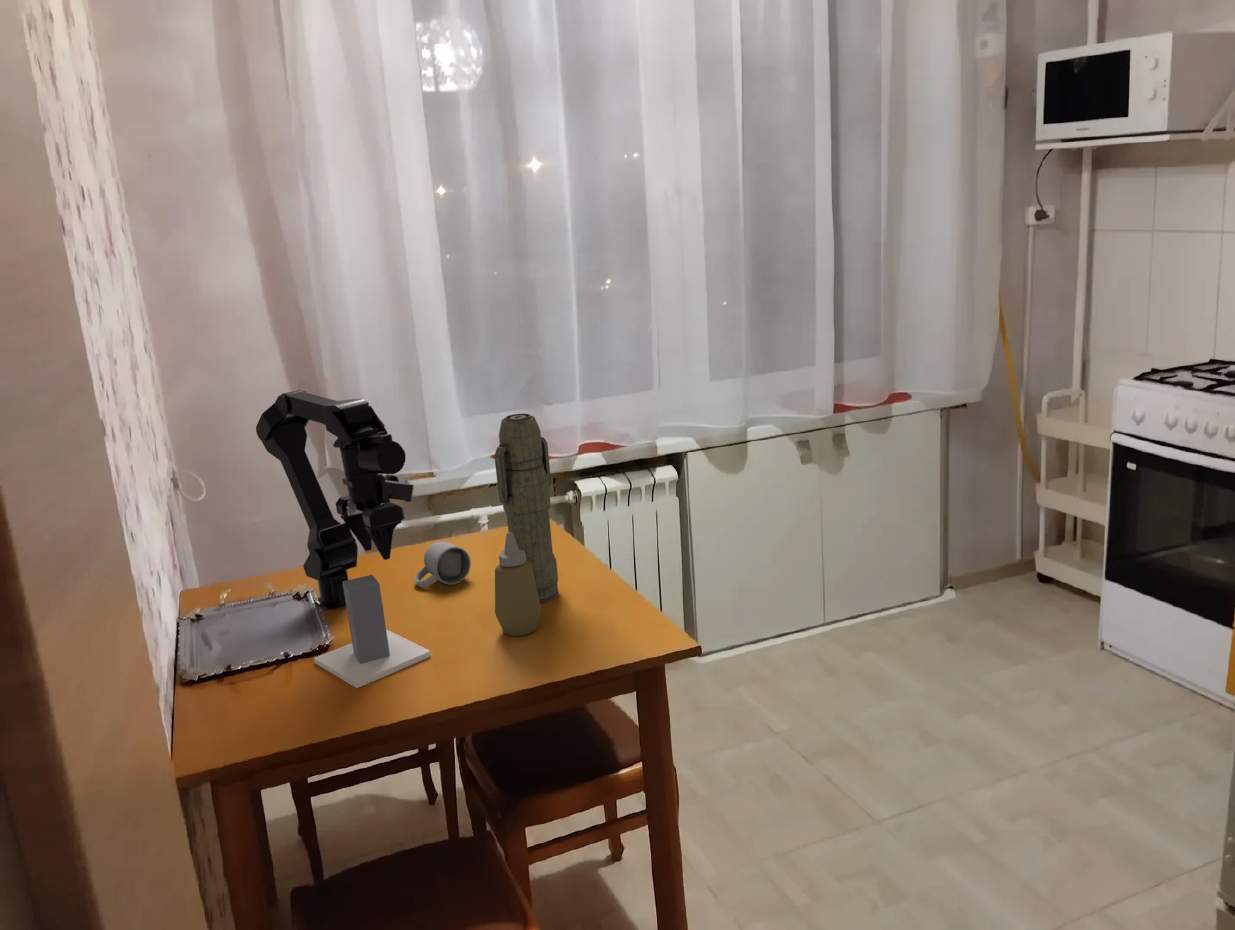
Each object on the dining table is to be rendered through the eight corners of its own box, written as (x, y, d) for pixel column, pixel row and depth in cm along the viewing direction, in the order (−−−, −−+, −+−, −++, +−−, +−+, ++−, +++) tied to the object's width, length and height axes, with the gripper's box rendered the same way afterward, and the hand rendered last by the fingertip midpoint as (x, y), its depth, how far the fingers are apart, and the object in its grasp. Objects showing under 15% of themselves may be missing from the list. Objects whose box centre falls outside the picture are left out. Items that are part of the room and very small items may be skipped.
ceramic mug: (456, 568, 205) (451, 533, 203) (473, 578, 198) (468, 543, 196) (408, 582, 199) (403, 547, 197) (425, 594, 193) (419, 557, 191)
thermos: (573, 587, 190) (557, 410, 181) (534, 610, 181) (515, 425, 172) (538, 580, 195) (520, 407, 186) (498, 601, 186) (478, 421, 177)
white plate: (314, 663, 166) (314, 657, 166) (387, 634, 175) (386, 629, 175) (356, 688, 156) (355, 682, 156) (430, 656, 165) (430, 650, 165)
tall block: (353, 652, 167) (342, 581, 163) (382, 645, 169) (372, 574, 165) (360, 664, 162) (348, 591, 159) (390, 656, 164) (379, 583, 161)
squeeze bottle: (487, 632, 173) (476, 536, 168) (521, 616, 179) (512, 522, 174) (517, 644, 168) (507, 544, 163) (552, 627, 173) (543, 530, 168)
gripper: (423, 466, 171) (439, 551, 174) (384, 456, 186) (399, 534, 190) (362, 481, 165) (380, 569, 169) (327, 469, 181) (344, 550, 184)
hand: (377, 554), depth 178 cm, fingers open, 9 cm apart
